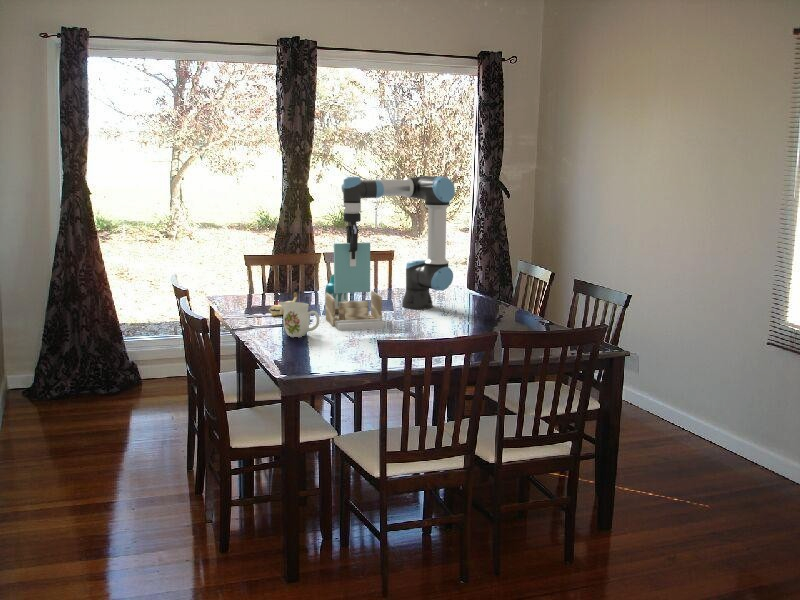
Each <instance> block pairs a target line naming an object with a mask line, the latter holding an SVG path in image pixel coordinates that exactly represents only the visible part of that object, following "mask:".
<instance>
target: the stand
mask: <svg viewBox="0 0 800 600" xmlns="http://www.w3.org/2000/svg"><path fill="white" fill-rule="evenodd" d="M334 327H335V328H337V330H338V331H349V330H351V331H352V330H353V331H354V330H369V329H370V330H371V329H385V322H384V320H382V321H381V319H361V320H339V321H335V326H334Z"/></svg>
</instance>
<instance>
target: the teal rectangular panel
mask: <svg viewBox="0 0 800 600" xmlns="http://www.w3.org/2000/svg"><path fill="white" fill-rule="evenodd" d="M349 250H350V243H347V242H341V243H340V242H337V243H335V242H334V243H333V274H334V293H335V294H336V293H348V294H352V293H353V294H354V293H371V242H358V245H357V251H356V266H350V252H349Z"/></svg>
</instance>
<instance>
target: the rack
mask: <svg viewBox="0 0 800 600" xmlns="http://www.w3.org/2000/svg"><path fill="white" fill-rule="evenodd" d="M370 298H371V299H370V315H368V319H381V321H383V297H382V295H379V294H378V293H376V292H375V291H374V290H373V291H372V290H370ZM325 321H326V322H328V323H329V324H330V325H331V326H332V327H335V321H339V316H336V314H335V299H334V298H333V297H332V296H331V295H330V294H329V293H326V306H325Z"/></svg>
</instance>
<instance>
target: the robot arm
mask: <svg viewBox="0 0 800 600" xmlns="http://www.w3.org/2000/svg"><path fill="white" fill-rule="evenodd" d="M455 189H456V187H455V185H454V182H453V181H452V180H451V179H450V178H448V177H445V176H441V175H439V176H438V175H435V176H434V175H420V176H412V177H404V178H403V179H361V177H360V176H345V177H344V178H343V182H342V185H341V192H342V194H343V195H342V196H343V197H342V198H343V199H342V200H343V204H342V208H343V216H342V217H343V222H346V223H347V225H346V226H345V230H346V243H350V250H349V252H350V266H356V251H357V245H358V243H359V239H358V238H359V228H358V225H357V223H358V222H361V221H362V219H361V216H362V215H361V211H362V210H361V209H362V208H361V207H362V205H361V204H362V201H361V200H362V199H379V198H382V197H395V196H396V197H400V196H402V197H404V198H410V199H416V200H417V199H418V200H421V201H422V200H423V201H425V202H424V206H426V208H427V211H428V214H427V216H428V217H427V219H428V220H427V259H424V260H423V259H421V260H410V261H407V263H406V266H405V267H406V269H405V293H404V295H403V299H402V302H401V306H402V307H403V308H405V307H406V309H411V308H414V310H425V309H424V308H426V309H431V308H432V307H433V299H432V296H431V292H430V289H431V290H434V291H445V290H447V289H448V288H449V287H450V286H451V285H452V283H453V280H454V273H453V270H452V268H450V267H449V261H448V260H447V259H446V249H447V246H446V245H447V240H446V239H447V208H449V207H450V203H451V201H452V200H453V198H454V196H455V193H456V190H455ZM430 307H431V308H430Z"/></svg>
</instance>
